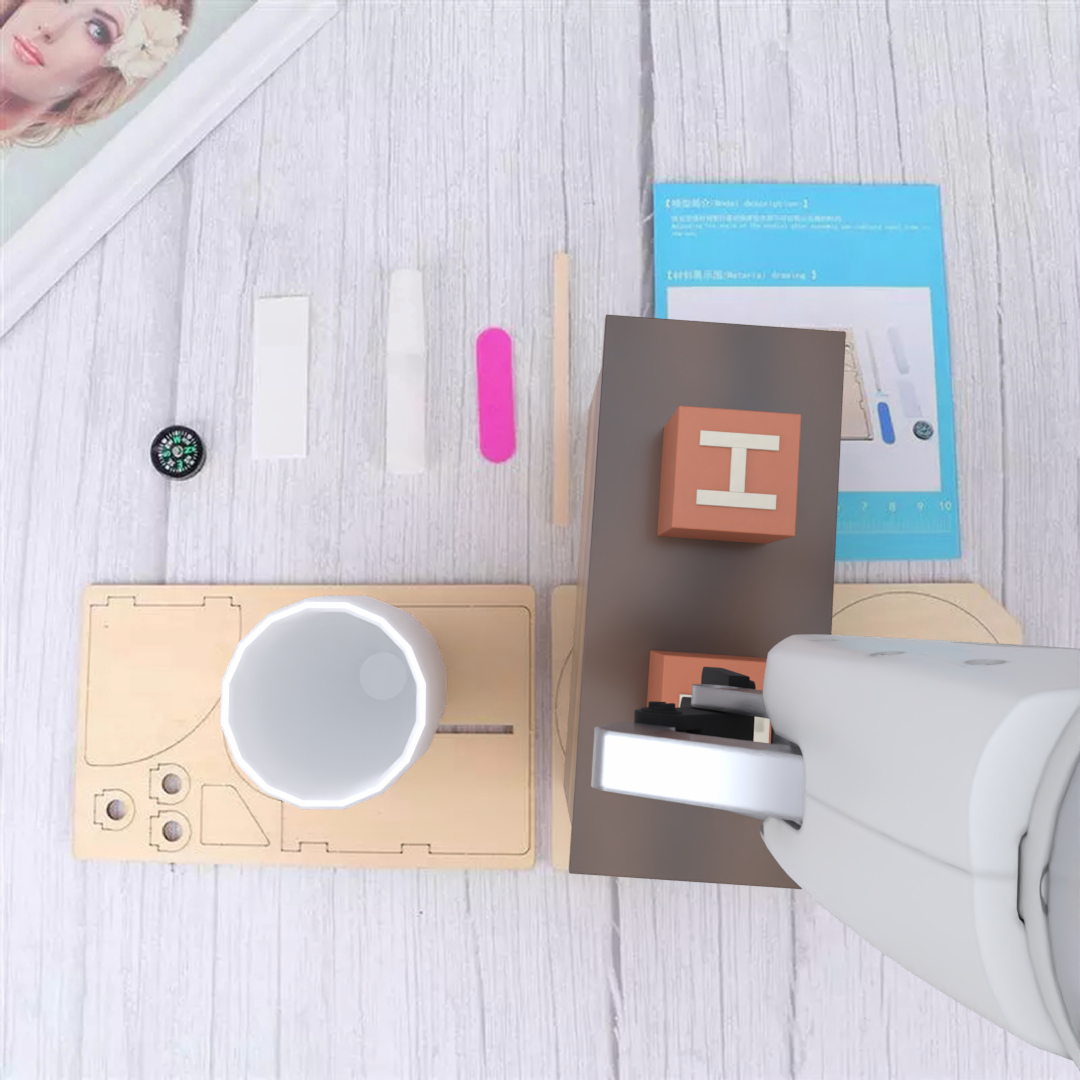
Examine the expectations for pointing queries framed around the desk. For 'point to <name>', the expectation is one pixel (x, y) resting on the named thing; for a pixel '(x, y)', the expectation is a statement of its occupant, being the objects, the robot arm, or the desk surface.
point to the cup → (332, 700)
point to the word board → (694, 571)
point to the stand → (581, 598)
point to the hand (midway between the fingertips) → (878, 733)
